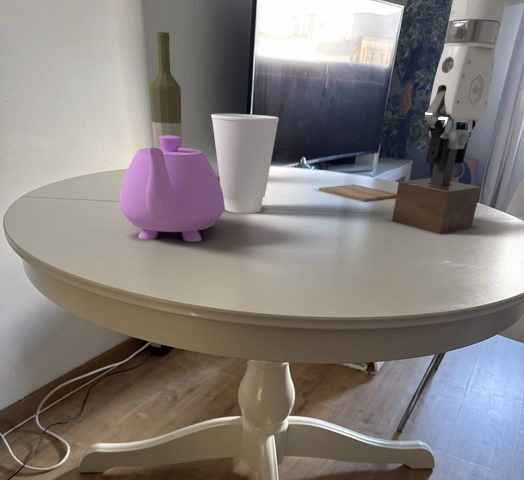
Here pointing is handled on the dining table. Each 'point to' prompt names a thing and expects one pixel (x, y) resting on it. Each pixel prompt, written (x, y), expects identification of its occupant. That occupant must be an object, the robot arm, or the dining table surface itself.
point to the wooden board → (358, 192)
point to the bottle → (165, 96)
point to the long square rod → (449, 157)
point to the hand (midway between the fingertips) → (444, 162)
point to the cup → (244, 158)
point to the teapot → (171, 191)
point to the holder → (435, 205)
